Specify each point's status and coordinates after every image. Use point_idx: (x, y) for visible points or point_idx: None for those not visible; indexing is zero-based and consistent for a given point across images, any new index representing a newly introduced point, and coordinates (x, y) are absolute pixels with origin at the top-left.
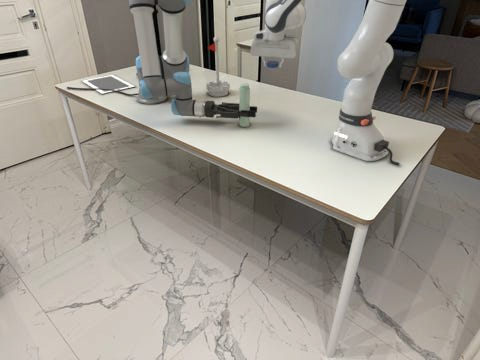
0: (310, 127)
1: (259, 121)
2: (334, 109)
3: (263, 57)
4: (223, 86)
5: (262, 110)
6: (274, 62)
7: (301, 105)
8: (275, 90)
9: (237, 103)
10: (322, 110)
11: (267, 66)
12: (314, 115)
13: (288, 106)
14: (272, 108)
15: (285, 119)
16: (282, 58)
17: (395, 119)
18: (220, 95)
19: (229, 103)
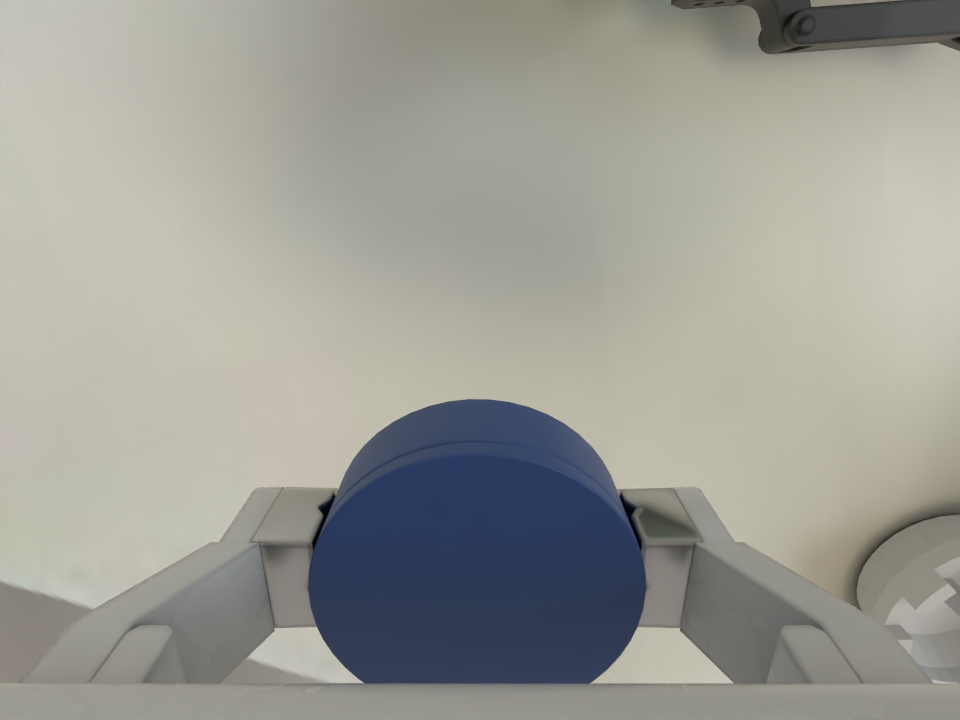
0: (67, 30)
1: (544, 63)
2: (12, 463)
3: (848, 665)
4: (951, 595)
5: (551, 324)
6: (429, 587)
7: (269, 486)
8: None
9: (849, 39)
10: (90, 426)
11: (601, 463)
12: (118, 314)
13: (361, 447)
14: (477, 383)
15: (325, 170)
16: (96, 675)
17: None
18: (922, 528)
19: (952, 12)
